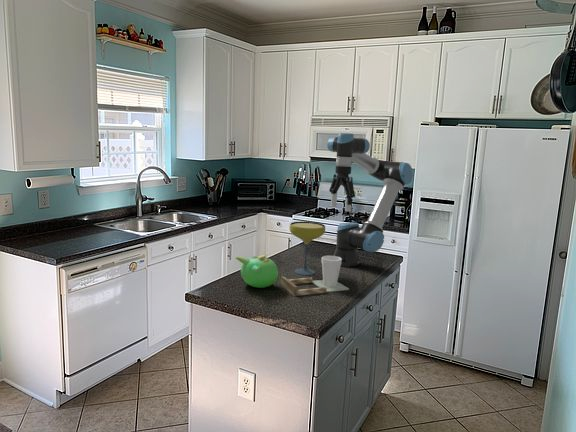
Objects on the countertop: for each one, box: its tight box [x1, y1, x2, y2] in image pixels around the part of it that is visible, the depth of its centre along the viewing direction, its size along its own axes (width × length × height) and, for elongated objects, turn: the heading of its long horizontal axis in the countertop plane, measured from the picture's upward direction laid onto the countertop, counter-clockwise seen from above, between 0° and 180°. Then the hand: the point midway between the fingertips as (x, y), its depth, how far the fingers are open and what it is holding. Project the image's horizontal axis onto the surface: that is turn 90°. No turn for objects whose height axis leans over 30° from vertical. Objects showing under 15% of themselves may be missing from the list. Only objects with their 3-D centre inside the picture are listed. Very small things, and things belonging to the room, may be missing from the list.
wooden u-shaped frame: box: [280, 275, 328, 297], centre depth 204 cm, size 16×15×4 cm
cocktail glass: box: [289, 221, 326, 276], centre depth 227 cm, size 18×18×25 cm
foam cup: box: [321, 255, 342, 287], centre depth 208 cm, size 10×9×13 cm
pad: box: [312, 279, 350, 293], centre depth 210 cm, size 12×15×1 cm
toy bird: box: [235, 254, 279, 289], centre depth 202 cm, size 18×17×15 cm
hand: (340, 209), depth 218 cm, fingers open, 13 cm apart
